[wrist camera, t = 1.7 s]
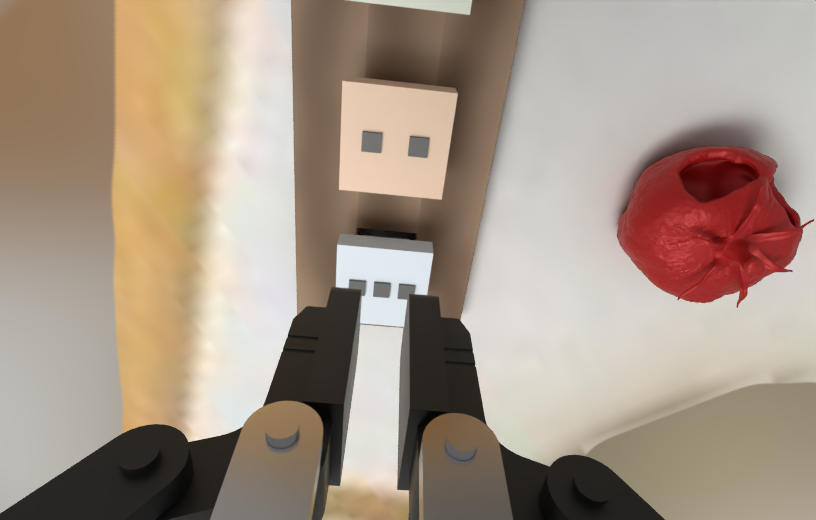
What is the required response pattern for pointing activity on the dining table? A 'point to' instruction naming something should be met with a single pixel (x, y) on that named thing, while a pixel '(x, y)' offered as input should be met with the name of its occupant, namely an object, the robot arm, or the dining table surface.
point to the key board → (403, 62)
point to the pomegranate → (709, 223)
